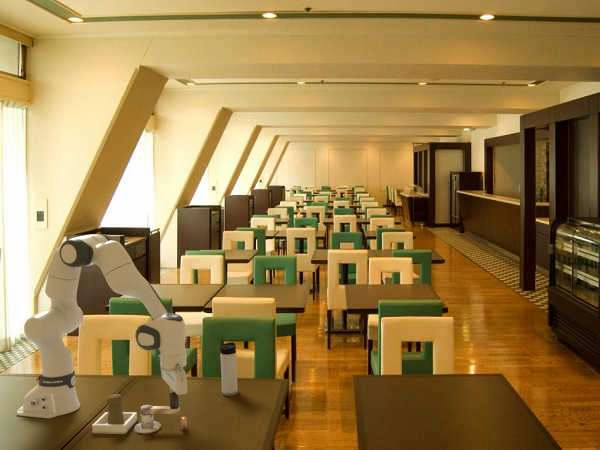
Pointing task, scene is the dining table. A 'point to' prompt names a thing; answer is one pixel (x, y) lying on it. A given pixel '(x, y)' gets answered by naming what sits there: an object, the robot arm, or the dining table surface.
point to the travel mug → (229, 369)
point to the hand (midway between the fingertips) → (174, 398)
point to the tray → (105, 428)
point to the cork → (115, 409)
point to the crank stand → (153, 424)
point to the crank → (163, 407)
